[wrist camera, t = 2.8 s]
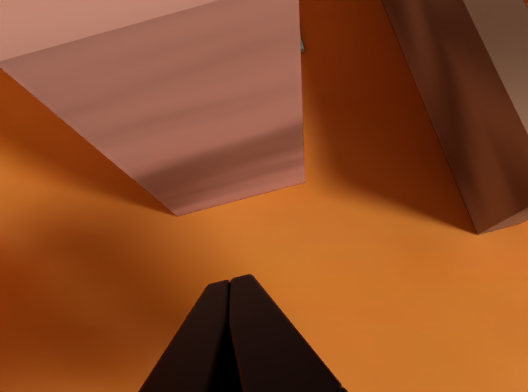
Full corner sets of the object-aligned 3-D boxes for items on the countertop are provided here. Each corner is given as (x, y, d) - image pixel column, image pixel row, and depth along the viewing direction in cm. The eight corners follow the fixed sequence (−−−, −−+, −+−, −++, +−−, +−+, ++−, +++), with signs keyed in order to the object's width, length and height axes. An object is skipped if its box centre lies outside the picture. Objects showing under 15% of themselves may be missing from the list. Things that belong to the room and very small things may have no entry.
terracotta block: (304, 182, 16) (298, -22, 7) (176, 216, 16) (-6, 62, 7) (272, 71, 18) (229, -222, 8) (155, 103, 18) (-19, -150, 8)
